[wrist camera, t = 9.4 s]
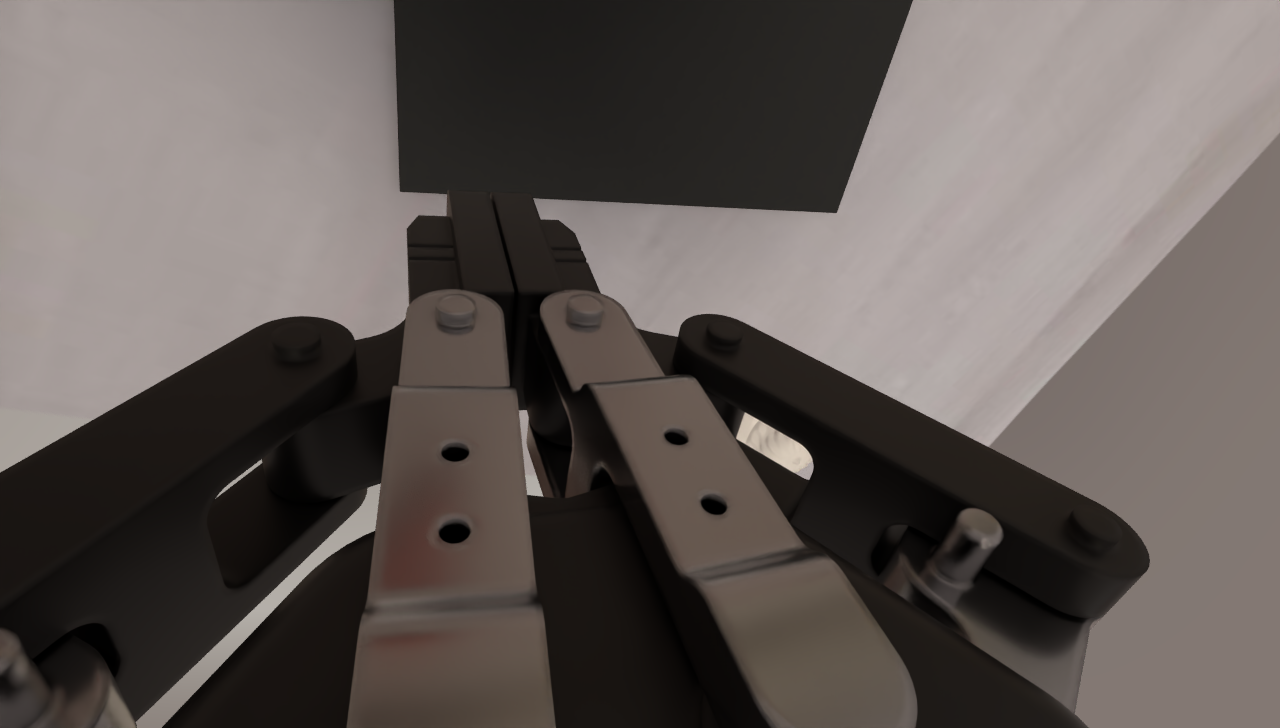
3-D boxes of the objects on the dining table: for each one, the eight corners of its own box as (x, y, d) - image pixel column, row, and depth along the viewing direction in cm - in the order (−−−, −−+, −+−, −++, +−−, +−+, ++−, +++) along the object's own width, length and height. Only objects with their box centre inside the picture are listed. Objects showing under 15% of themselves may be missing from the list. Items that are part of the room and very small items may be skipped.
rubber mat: (387, -223, 22) (387, -224, 22) (942, -99, 29) (948, -98, 29) (399, 188, 31) (399, 192, 30) (833, 210, 37) (836, 213, 37)
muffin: (703, 358, 41) (748, 439, 36) (798, 336, 42) (856, 411, 37) (704, 432, 45) (745, 514, 40) (791, 410, 46) (842, 487, 41)
